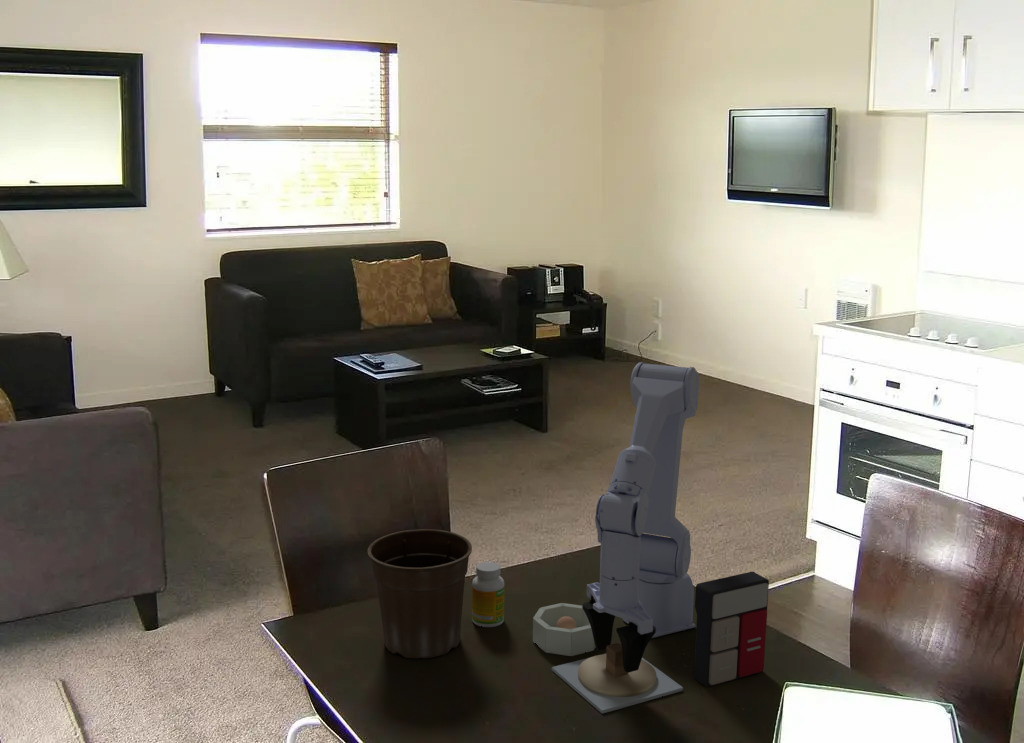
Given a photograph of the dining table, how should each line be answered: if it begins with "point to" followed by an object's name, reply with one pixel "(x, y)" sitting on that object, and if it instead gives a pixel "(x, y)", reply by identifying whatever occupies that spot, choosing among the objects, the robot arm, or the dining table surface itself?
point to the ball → (566, 623)
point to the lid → (615, 674)
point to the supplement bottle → (488, 595)
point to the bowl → (562, 630)
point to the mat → (610, 703)
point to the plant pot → (420, 589)
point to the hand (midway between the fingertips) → (616, 659)
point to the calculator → (730, 627)
